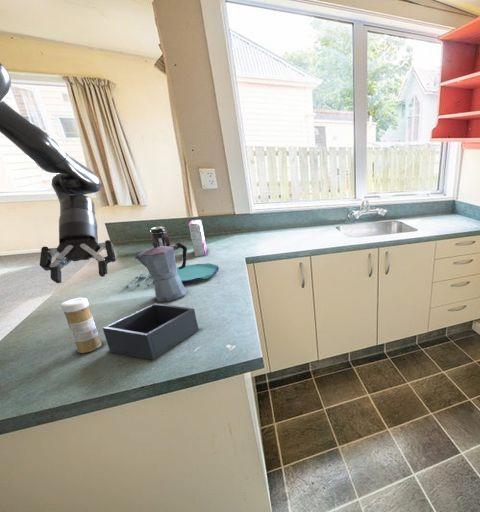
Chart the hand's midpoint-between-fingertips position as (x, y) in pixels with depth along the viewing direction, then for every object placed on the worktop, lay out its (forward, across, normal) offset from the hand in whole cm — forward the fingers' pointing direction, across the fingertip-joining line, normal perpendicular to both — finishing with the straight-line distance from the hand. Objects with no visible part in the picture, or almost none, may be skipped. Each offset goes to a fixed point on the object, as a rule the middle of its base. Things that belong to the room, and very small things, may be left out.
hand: (80, 278), depth 78 cm
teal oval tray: (-13, +19, +36) cm, 43 cm away
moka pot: (0, +17, +23) cm, 29 cm away
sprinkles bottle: (+18, 0, +5) cm, 19 cm away
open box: (+21, +14, +1) cm, 26 cm away
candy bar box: (-37, +28, +60) cm, 76 cm away
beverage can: (-49, +12, +72) cm, 88 cm away
